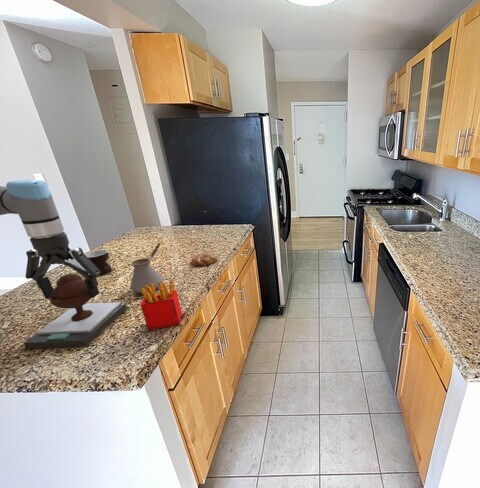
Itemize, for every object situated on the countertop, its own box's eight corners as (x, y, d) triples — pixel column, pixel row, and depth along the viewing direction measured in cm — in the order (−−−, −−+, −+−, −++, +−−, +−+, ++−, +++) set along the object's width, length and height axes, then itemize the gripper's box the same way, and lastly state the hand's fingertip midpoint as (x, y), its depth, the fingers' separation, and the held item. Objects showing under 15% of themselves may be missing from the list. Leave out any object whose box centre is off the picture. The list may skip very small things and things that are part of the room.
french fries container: (153, 318, 90) (142, 284, 85) (182, 313, 94) (174, 279, 88) (148, 331, 84) (136, 295, 79) (179, 325, 87) (170, 289, 82)
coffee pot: (155, 296, 103) (145, 262, 98) (125, 297, 103) (114, 263, 97) (180, 271, 123) (173, 242, 118) (155, 271, 123) (147, 242, 117)
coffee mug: (103, 268, 126) (96, 249, 123) (119, 269, 125) (112, 250, 121) (79, 279, 116) (71, 259, 112) (96, 281, 114) (88, 260, 111)
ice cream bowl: (51, 322, 84) (32, 282, 78) (90, 303, 93) (75, 266, 88) (72, 330, 80) (53, 288, 75) (110, 309, 90) (96, 271, 84)
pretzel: (220, 257, 138) (219, 251, 136) (212, 266, 128) (211, 260, 126) (197, 257, 137) (196, 251, 136) (188, 267, 127) (186, 260, 126)
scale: (26, 349, 77) (21, 340, 76) (78, 310, 95) (75, 303, 94) (86, 346, 78) (82, 338, 77) (126, 308, 96) (124, 301, 95)
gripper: (101, 229, 80) (121, 288, 88) (15, 230, 78) (42, 290, 86) (82, 238, 73) (105, 301, 81) (-14, 239, 71) (19, 303, 79)
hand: (73, 296), depth 84 cm, fingers open, 13 cm apart
